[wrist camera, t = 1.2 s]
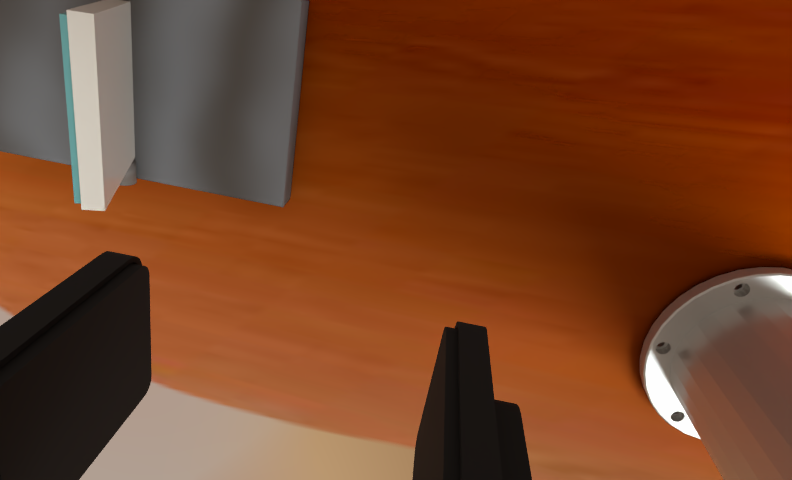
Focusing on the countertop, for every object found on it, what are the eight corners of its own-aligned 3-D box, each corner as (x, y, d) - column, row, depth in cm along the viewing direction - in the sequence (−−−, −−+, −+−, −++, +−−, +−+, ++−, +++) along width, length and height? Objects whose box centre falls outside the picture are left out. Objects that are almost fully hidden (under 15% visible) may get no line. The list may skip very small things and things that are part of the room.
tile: (93, 13, 20) (57, 8, 20) (105, 210, 23) (73, 209, 23) (130, 1, 27) (103, -3, 26) (135, 156, 30) (111, 154, 30)
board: (309, -2, 28) (295, -2, 25) (290, 200, 32) (276, 216, 30) (-29, -67, 28) (-76, -73, 26) (0, 142, 33) (-38, 153, 30)
